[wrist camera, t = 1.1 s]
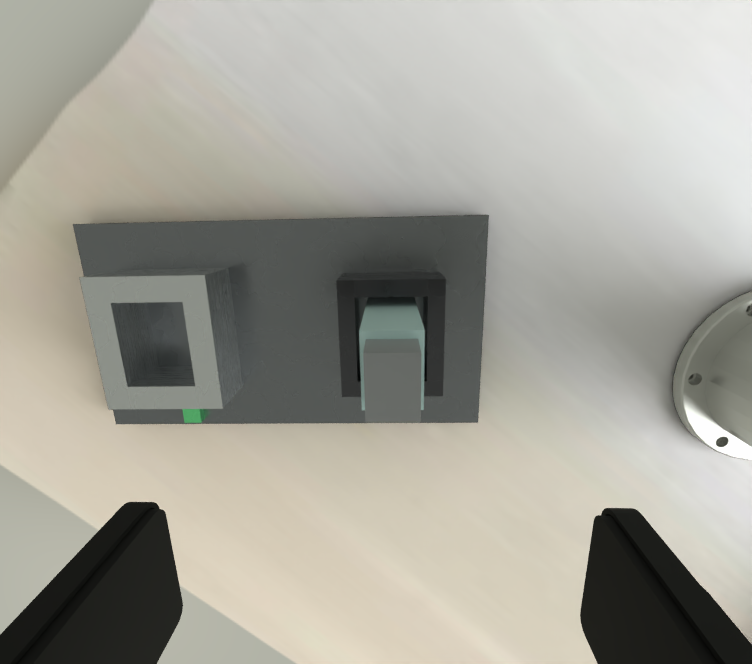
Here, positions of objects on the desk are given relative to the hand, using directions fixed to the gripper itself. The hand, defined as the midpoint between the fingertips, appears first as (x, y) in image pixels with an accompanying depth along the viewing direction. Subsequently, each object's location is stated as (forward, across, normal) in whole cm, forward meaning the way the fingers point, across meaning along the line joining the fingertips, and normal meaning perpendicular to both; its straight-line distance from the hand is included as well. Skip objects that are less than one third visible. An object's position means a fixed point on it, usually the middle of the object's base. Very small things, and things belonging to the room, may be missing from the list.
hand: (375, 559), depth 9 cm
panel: (+20, +7, 0) cm, 21 cm away
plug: (+19, 0, 0) cm, 19 cm away
